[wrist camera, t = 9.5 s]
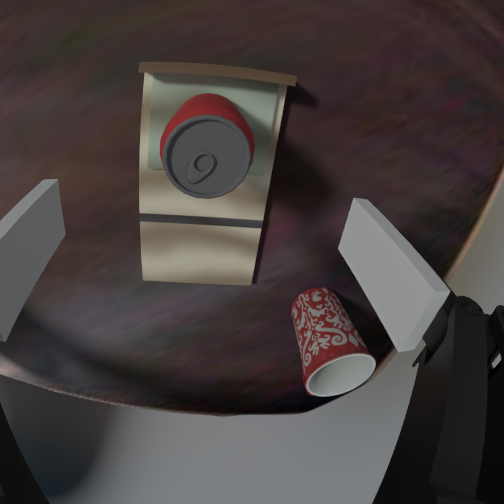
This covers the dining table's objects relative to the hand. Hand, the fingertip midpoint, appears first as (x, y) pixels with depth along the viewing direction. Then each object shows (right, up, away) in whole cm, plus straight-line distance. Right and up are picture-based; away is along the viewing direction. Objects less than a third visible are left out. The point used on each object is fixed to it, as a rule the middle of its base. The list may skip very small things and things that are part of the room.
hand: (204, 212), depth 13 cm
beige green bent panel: (-3, +6, +21) cm, 22 cm away
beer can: (-2, +11, +16) cm, 19 cm away
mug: (+11, -11, +34) cm, 37 cm away
